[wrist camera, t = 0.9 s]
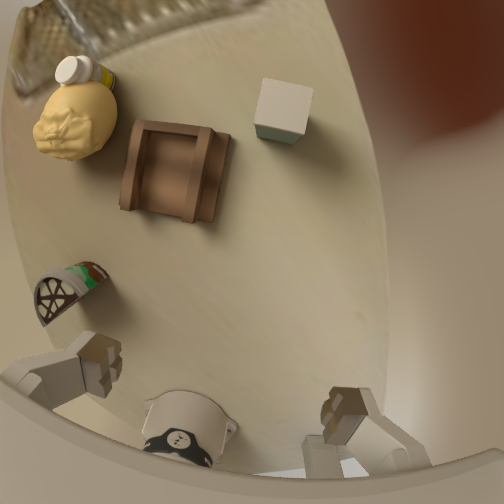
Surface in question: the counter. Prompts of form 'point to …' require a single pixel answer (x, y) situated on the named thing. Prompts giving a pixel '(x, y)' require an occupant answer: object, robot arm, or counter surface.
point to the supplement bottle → (83, 72)
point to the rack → (174, 170)
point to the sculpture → (76, 121)
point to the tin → (282, 111)
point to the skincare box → (321, 459)
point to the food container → (65, 289)
